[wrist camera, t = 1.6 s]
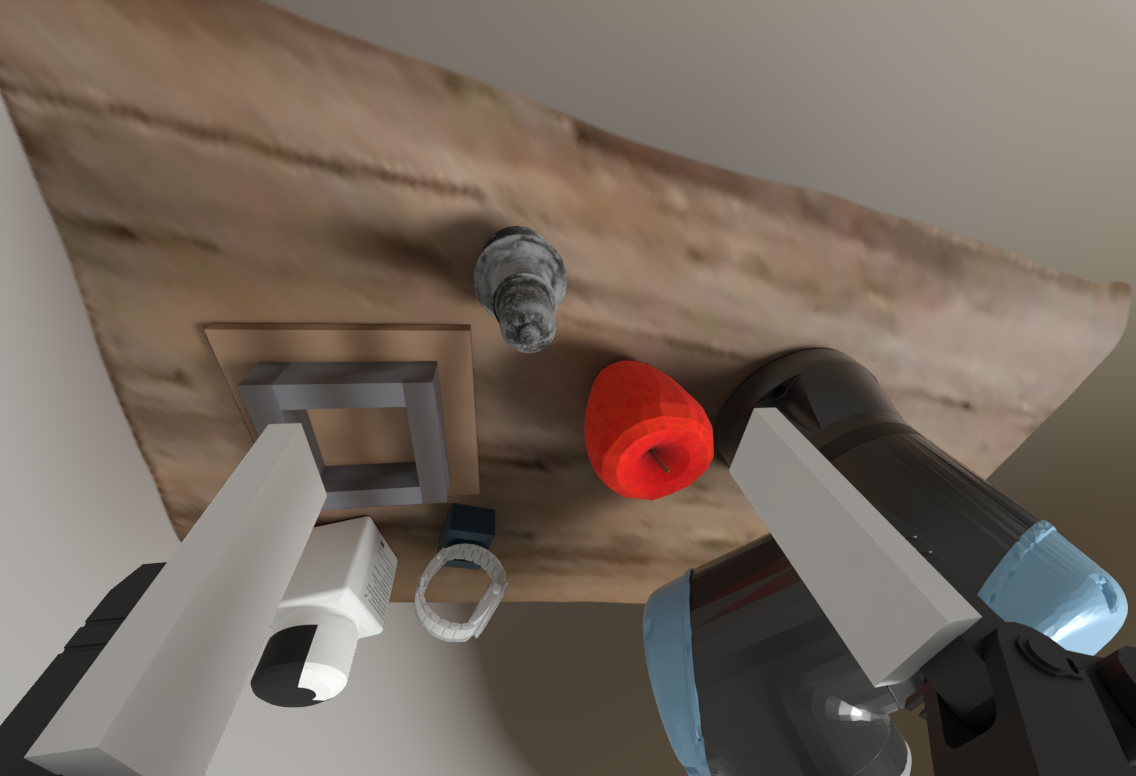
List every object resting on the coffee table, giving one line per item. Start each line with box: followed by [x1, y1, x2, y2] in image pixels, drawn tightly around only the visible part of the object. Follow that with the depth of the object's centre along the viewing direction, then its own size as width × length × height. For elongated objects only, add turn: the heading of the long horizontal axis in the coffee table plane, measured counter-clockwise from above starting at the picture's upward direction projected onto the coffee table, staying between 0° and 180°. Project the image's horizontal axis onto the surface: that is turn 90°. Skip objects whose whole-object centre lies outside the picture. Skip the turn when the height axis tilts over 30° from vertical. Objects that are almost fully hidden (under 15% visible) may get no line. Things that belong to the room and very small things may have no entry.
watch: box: [414, 503, 509, 642], centre depth 37 cm, size 6×8×11 cm
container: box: [251, 516, 398, 707], centre depth 36 cm, size 8×8×13 cm
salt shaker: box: [473, 227, 567, 353], centre depth 23 cm, size 6×6×12 cm
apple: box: [585, 360, 714, 500], centre depth 31 cm, size 9×9×11 cm
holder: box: [204, 323, 480, 510], centre depth 32 cm, size 17×17×4 cm
